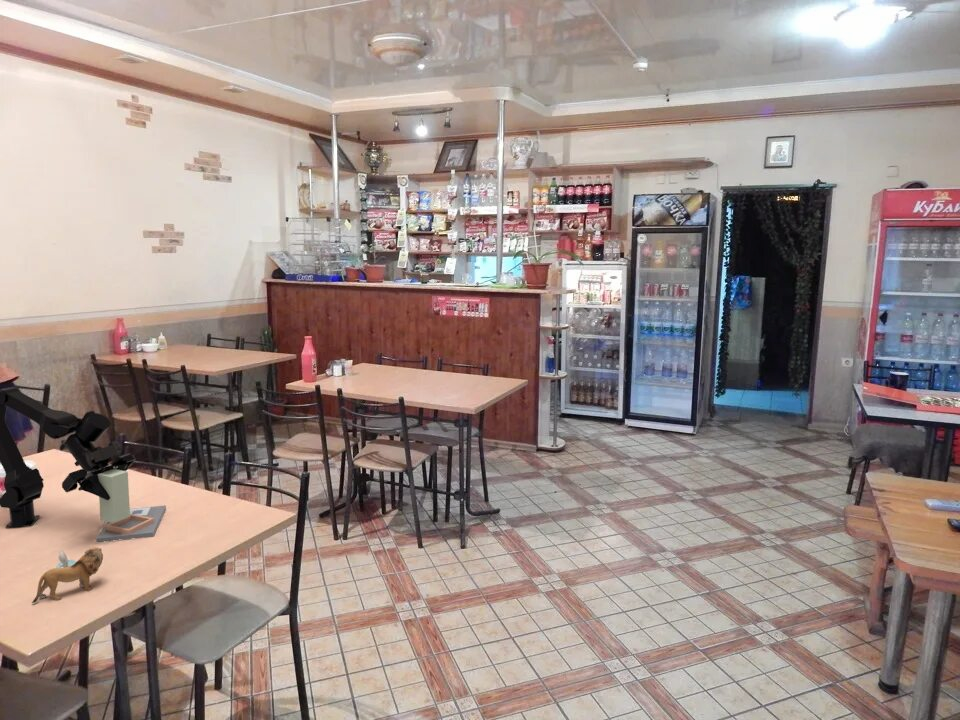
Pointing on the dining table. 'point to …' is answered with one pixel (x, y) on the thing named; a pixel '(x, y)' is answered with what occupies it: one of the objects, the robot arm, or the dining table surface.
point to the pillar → (114, 496)
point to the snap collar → (145, 523)
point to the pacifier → (64, 561)
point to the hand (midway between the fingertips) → (117, 495)
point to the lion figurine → (71, 573)
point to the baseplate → (147, 531)
